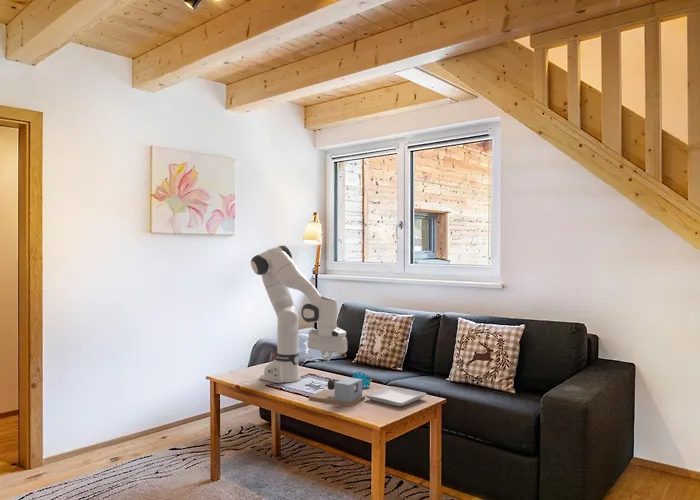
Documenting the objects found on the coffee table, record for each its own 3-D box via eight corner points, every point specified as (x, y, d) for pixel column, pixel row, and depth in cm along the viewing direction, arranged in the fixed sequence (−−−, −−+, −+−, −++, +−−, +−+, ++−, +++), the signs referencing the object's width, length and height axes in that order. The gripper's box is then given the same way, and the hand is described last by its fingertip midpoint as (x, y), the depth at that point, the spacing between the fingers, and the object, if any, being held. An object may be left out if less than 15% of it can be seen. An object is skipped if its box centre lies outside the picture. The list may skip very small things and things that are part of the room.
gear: (355, 387, 261) (351, 370, 268) (350, 393, 265) (347, 376, 272) (374, 388, 266) (370, 371, 272) (370, 394, 269) (366, 377, 276)
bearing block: (309, 399, 245) (309, 379, 245) (324, 392, 258) (325, 373, 258) (350, 406, 235) (350, 385, 235) (364, 398, 247) (365, 379, 247)
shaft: (327, 390, 246) (327, 380, 246) (332, 388, 250) (332, 377, 250) (352, 394, 239) (352, 383, 239) (357, 392, 244) (358, 381, 244)
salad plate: (363, 401, 245) (363, 393, 245) (390, 392, 261) (390, 385, 261) (401, 410, 231) (401, 402, 231) (427, 400, 247) (427, 392, 247)
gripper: (305, 329, 252) (304, 358, 252) (342, 334, 242) (342, 364, 242) (312, 328, 257) (311, 356, 257) (349, 332, 248) (348, 361, 248)
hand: (326, 360), depth 250 cm, fingers closed
